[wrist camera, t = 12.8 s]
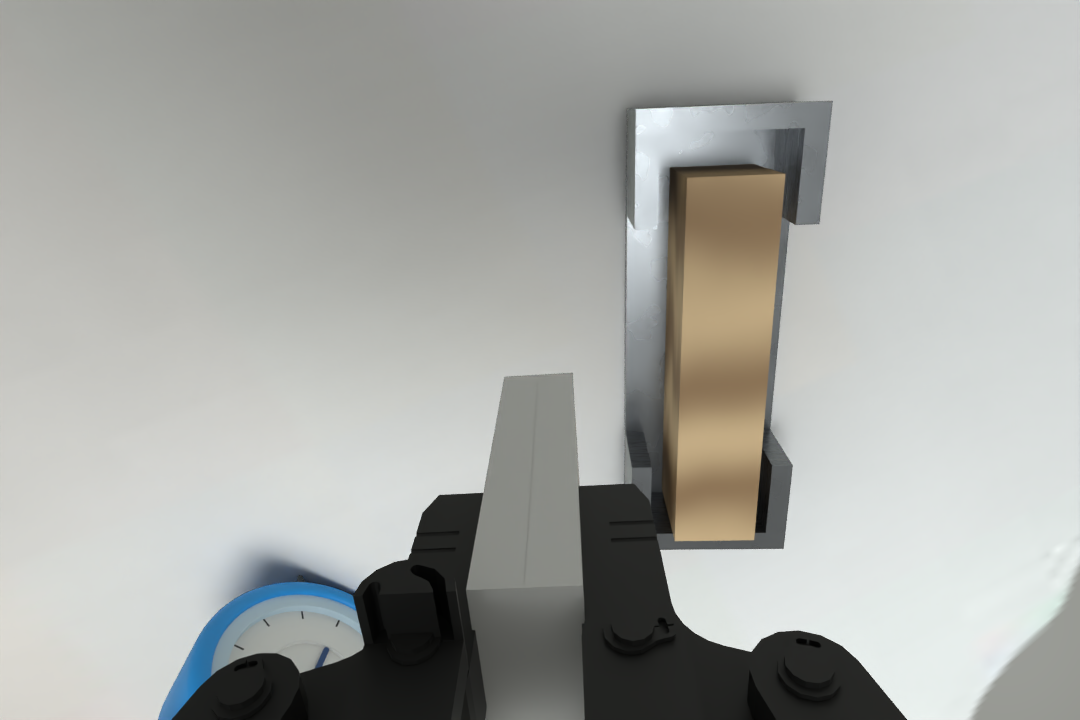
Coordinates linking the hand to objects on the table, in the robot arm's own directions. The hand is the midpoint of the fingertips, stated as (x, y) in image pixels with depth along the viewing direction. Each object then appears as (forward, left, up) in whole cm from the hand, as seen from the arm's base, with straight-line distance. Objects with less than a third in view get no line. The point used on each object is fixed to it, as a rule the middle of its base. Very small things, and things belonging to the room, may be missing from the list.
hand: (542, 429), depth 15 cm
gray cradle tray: (+4, +8, -21) cm, 23 cm away
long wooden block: (+5, +8, -20) cm, 22 cm away
